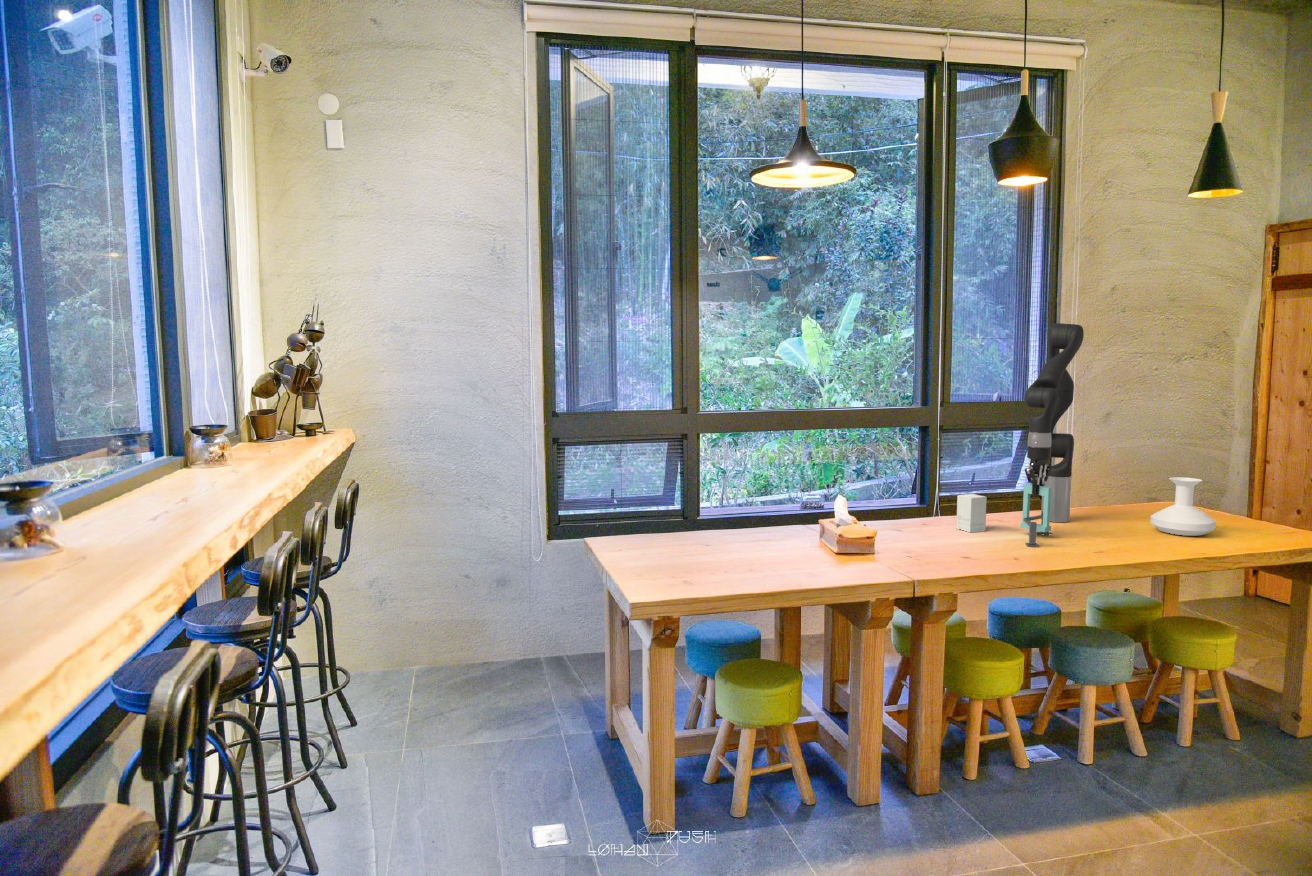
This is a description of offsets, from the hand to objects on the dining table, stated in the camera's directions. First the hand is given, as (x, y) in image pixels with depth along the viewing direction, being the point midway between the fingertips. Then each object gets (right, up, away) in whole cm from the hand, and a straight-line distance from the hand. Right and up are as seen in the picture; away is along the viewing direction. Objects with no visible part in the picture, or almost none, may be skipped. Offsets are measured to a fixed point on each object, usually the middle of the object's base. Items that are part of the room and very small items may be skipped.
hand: (1037, 494), depth 306 cm
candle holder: (+54, -14, +7) cm, 57 cm away
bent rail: (-1, -15, -4) cm, 16 cm away
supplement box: (-19, -14, +12) cm, 26 cm away
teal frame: (0, -12, +1) cm, 12 cm away
